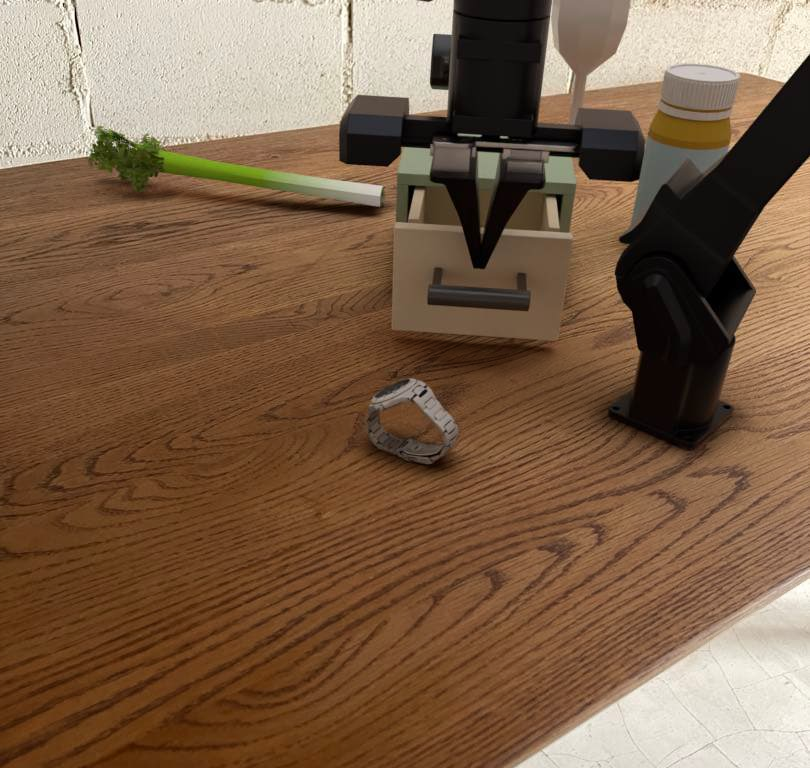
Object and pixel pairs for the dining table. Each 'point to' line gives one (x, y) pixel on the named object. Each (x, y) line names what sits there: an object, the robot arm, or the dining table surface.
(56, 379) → the dining table surface
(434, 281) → the drawer
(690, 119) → the bottle
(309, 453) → the dining table surface
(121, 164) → the leek
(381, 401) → the wristwatch
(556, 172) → the cabinet
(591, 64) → the wineglass
